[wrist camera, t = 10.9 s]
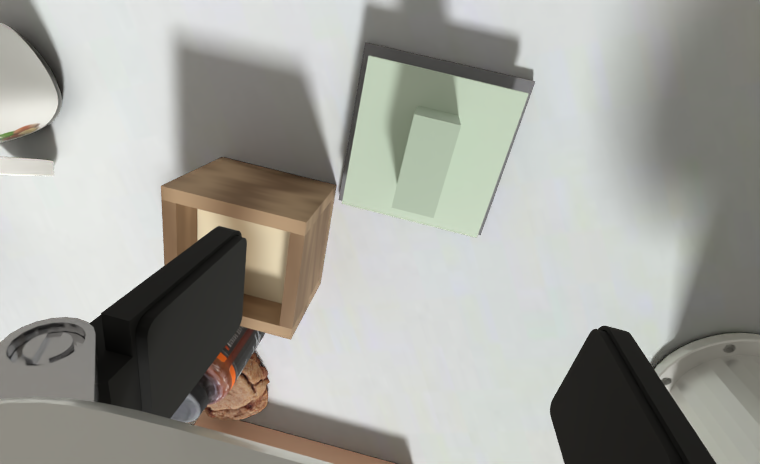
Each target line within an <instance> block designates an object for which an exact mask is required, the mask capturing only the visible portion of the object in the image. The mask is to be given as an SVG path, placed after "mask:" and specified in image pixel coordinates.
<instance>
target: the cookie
mask: <svg viewBox="0 0 760 464" xmlns="http://www.w3.org/2000/svg"><path fill="white" fill-rule="evenodd" d="M260 364H261V362H260V360H259V359H258V357H257V355H256V353H253V354H252V356H251V357H250V359H249V361H248V362H247V364H246V366H245V367H244V369H243V370H242V372H241V374H240V375H239V377H238V378H237V380H236V382H235V383H234V385H233V387H232V388H231V390H230V391H229V393H228V394H227V395H226V396H225V397H224V398H223V399H222V400H220V401H219V402H217V403H214V404H211V405H207V407H206V408H205V412H206V414H207V416H208V417H210V418H213V419H218V420H230V419H231V420H240V419H245V418H247V417H250V416H252V415H255V414H257V413H259V412H260V411H262V409H264V408H265V407H266V406H267V403H268V392H267V389H266V384H268V383H269V380H268V378H267V375H268V371H267V370H266V368H265V367H263V366H261V365H260Z"/></svg>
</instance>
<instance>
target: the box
mask: <svg viewBox="0 0 760 464" xmlns="http://www.w3.org/2000/svg"><path fill="white" fill-rule="evenodd" d="M335 191H336V185H334V184H330V183H326V182H322V181H318V180H314V179H310V178H306V177H302V176H298V175H294V174H290V173H286V172H282V171H277V170H273V169H269V168H265V167H261V166H257V165H253V164H249V163H245V162H241V161H237V160H233V159H229V158H225V157H221V158H219V159H217V160H215V161H213V162H210V163H208V164H206V165H204V166H202V167H200V168H198V169H196V170H194V171H191V172H189V173H187V174H185V175H183V176H181V177H179V178H177V179H174V180H172V181H170V182H168V183H166V184H164V185H162V186H161V197H162V219H163V241H164V264H165V265H166V264H168V263H169V262H170V261H172V260H173V259H174V258H176V257H177V256H178V255H180V254H181V253H182V252H184V251H185V250H186V249H188V248H189V247H190V246H192V245H193V244H194V243H196V242H197V241H198V240H200V239H201V238H202V237H204V236H205V235H206V234H208V233H209V232H210V231H212V230H213V229H214V228H216V227H217V226H222V227H226V228H230V229H233V230H237V231H240V232H241V235H242V237H243V238H246V240H247V250H246V266H245V282H244V298H243V313H242V320H241V324H240V326H242V327H246V328H250V329H253V330H257V331H261V332H265V333H268V334H272V335H276V336H280V337H283V338H287V339H291V338H292V336H293V334H294V332H295V331H296V329H297V327H298V325H299V323H300V321H301V319H302V317H303V315H304V314H305V312H306V310H307V308H308V306H309V304H310V302H311V300H312V298H313V297H314V295H315V293H316V291H317V289H318V287H319V285H320V283H321V277H322V270H323V264H324V258H325V252H326V246H327V240H328V234H329V228H330V222H331V216H332V209H333V203H334V197H335Z"/></svg>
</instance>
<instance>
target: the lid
mask: <svg viewBox="0 0 760 464" xmlns="http://www.w3.org/2000/svg"><path fill="white" fill-rule="evenodd" d="M527 97H528V93H526V92H522V91H518V90H513V89H509V88H505V87H501V86H496V85H492V84H488V83H484V82H480V81H475V80H471V79H467V78H463V77H459V76H454V75H450V74H446V73H442V72H437V71H433V70H429V69H425V68H421V67H416V66H412V65H408V64H404V63H400V62H395V61H391V60H387V59H383V58H378V57H374V56H368V62H367V67H366V73H365V78H364V84H363V89H362V95H361V100H360V106H359V111H358V117H357V122H356V128H355V134H354V139H353V145H352V150H351V156H350V161H349V167H348V172H347V178H346V183H345V189H344V194H343V200H342V204H345V205H349V206H353V207H357V208H361V209H365V210H369V211H373V212H377V213H381V214H385V215H388V216H392V217H396V218H400V219H404V220H408V221H412V222H416V223H420V224H424V225H428V226H432V227H436V228H440V229H444V230H447V231H451V232H455V233H459V234H463V235H467V236H471V237H475V238H477V236H478V233H479V230H480V228H481V225H482V222H483V219H484V217H485V214H486V211H487V208H488V205H489V203H490V200H491V197H492V194H493V192H494V189H495V186H496V183H497V180H498V178H499V175H500V172H501V169H502V167H503V164H504V161H505V158H506V155H507V153H508V150H509V147H510V144H511V142H512V139H513V136H514V133H515V131H516V128H517V125H518V122H519V119H520V117H521V114H522V111H523V108H524V106H525V103H526V100H527Z"/></svg>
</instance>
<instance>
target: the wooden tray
mask: <svg viewBox="0 0 760 464" xmlns="http://www.w3.org/2000/svg"><path fill="white" fill-rule="evenodd" d="M194 425H196V426H200V427H204V428H208V429H212V430H215V431H219V432H223V433H226V434H230V435H233V436H237V437H240V438H244V439H247V440H251V441H255V442H258V443H262V444H265V445H269V446H272V447H276V448H280V449H283V450H287V451H290V452H294V453H297V454H301V455H304V456H308V457H312V458H315V459H319V460H322V461H326V462H329V463H333V464H395V463H392V462H388V461H385V460H381V459H377V458H374V457H370V456H367V455H363V454H359V453H356V452H352V451H349V450H345V449H341V448H338V447H334V446H330V445H327V444H323V443H320V442H316V441H312V440H309V439H305V438H302V437H298V436H294V435H291V434H287V433H284V432H280V431H276V430H273V429H269V428H265V427H262V426H258V425H255V424H251V423H247V422H244V421H240V420H231V419H230V420H218V419H213V418H210V417H208V416H207V414H206V412H205V411H204V410H203V412H202V413H201V415H200V416H199V418H198V419H197V421H196V422H195V424H194Z"/></svg>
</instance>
